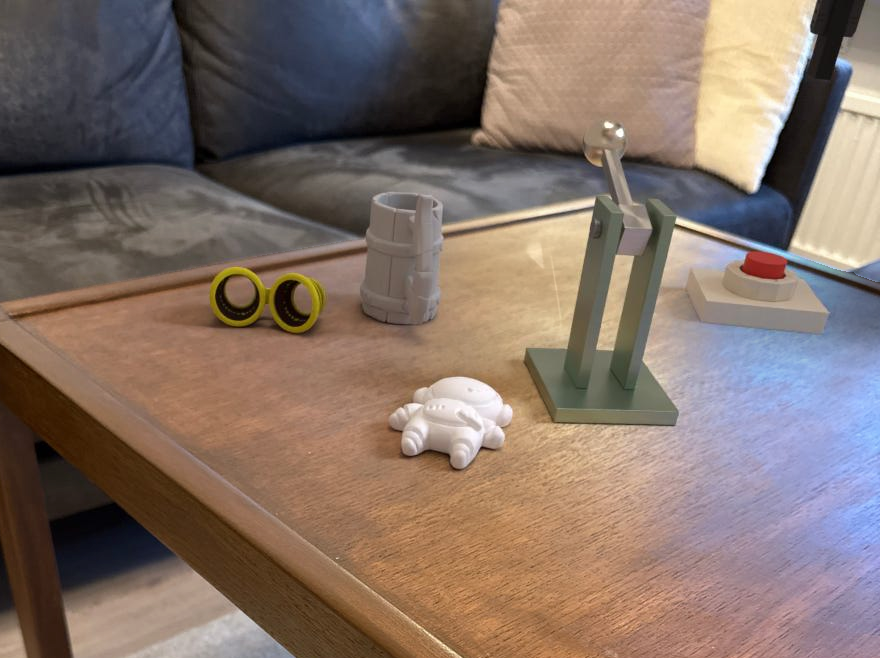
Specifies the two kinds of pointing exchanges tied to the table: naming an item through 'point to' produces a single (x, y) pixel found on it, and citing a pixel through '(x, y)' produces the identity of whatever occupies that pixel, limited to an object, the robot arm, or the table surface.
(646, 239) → the lever
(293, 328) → the opera glasses
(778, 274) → the button
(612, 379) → the bracket
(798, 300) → the box
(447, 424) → the astronaut figurine
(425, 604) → the table surface
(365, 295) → the mug
